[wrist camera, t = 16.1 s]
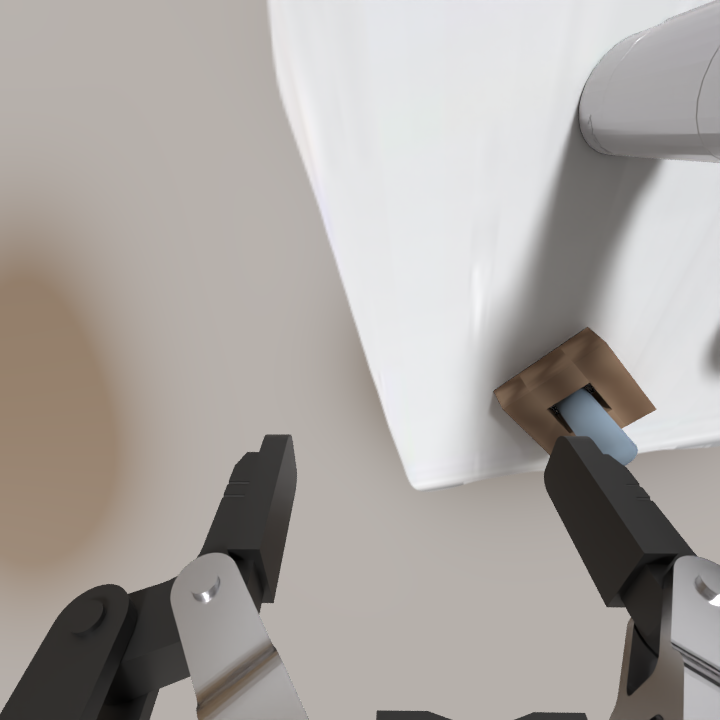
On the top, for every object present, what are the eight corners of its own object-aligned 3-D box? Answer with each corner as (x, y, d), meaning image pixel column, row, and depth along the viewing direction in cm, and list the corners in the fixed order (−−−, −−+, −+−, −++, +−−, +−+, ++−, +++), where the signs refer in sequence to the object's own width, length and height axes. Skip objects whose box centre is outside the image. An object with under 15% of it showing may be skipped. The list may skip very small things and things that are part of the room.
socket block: (587, 326, 45) (605, 342, 42) (636, 391, 50) (656, 409, 47) (493, 391, 51) (502, 409, 47) (546, 443, 56) (558, 463, 52)
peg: (571, 372, 49) (626, 434, 39) (587, 391, 51) (644, 455, 40) (542, 391, 51) (588, 455, 40) (559, 408, 52) (606, 474, 42)
